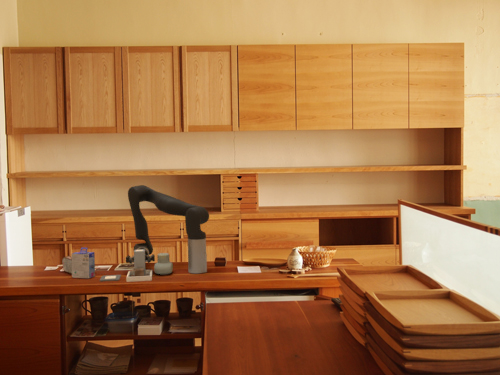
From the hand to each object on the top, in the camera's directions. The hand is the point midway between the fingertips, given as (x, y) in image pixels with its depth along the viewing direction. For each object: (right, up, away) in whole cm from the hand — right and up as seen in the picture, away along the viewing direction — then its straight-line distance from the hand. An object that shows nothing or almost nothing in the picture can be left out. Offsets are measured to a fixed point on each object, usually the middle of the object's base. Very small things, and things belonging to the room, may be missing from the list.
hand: (139, 261), depth 226 cm
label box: (0, -7, +1) cm, 8 cm away
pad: (-14, -8, -3) cm, 16 cm away
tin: (-38, -8, +9) cm, 40 cm away
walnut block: (+1, -8, -5) cm, 9 cm away
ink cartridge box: (-28, -8, +1) cm, 29 cm away
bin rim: (0, -8, -2) cm, 8 cm away
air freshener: (+11, -7, +6) cm, 14 cm away
